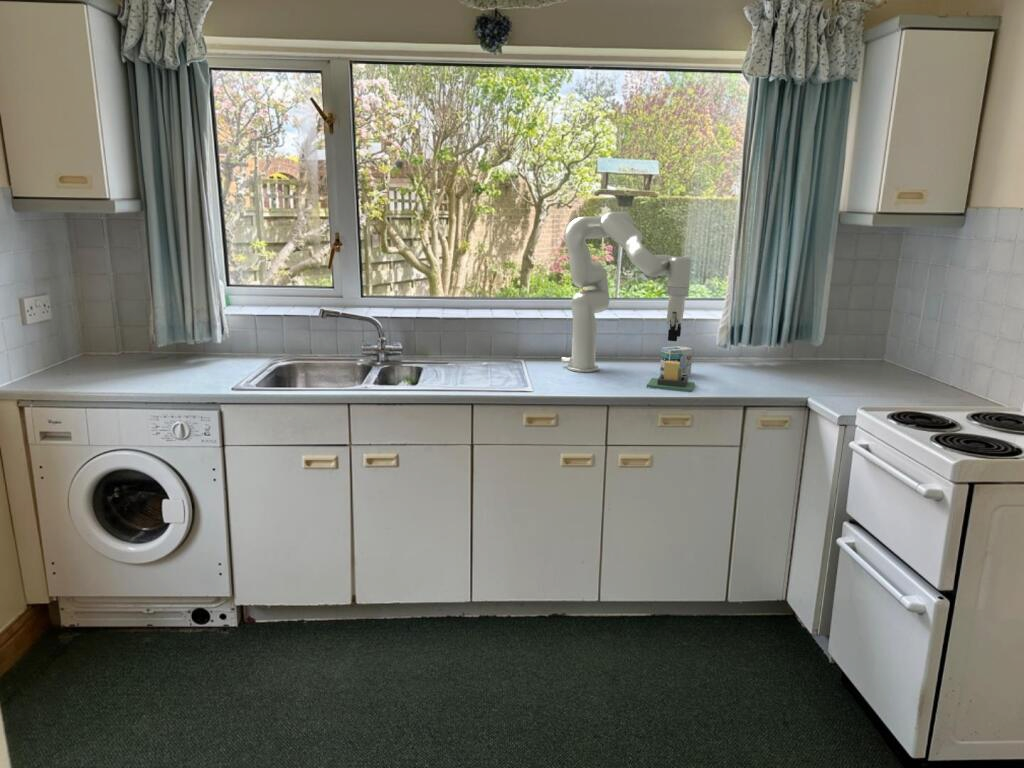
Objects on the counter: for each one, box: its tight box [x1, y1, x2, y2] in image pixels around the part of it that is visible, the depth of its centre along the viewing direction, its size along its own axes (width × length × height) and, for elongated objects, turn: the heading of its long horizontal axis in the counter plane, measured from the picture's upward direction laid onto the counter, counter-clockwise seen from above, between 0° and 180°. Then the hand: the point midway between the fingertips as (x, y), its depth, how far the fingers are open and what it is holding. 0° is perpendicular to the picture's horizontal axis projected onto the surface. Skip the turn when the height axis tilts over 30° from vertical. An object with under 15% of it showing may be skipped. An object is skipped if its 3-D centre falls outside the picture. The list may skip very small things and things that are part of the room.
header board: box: [646, 374, 696, 393], centre depth 269 cm, size 16×12×3 cm
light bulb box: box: [659, 345, 694, 377], centre depth 287 cm, size 11×7×11 cm, turn 112°
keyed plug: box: [664, 361, 682, 381], centre depth 268 cm, size 6×4×8 cm, turn 70°
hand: (674, 338), depth 265 cm, fingers open, 9 cm apart
